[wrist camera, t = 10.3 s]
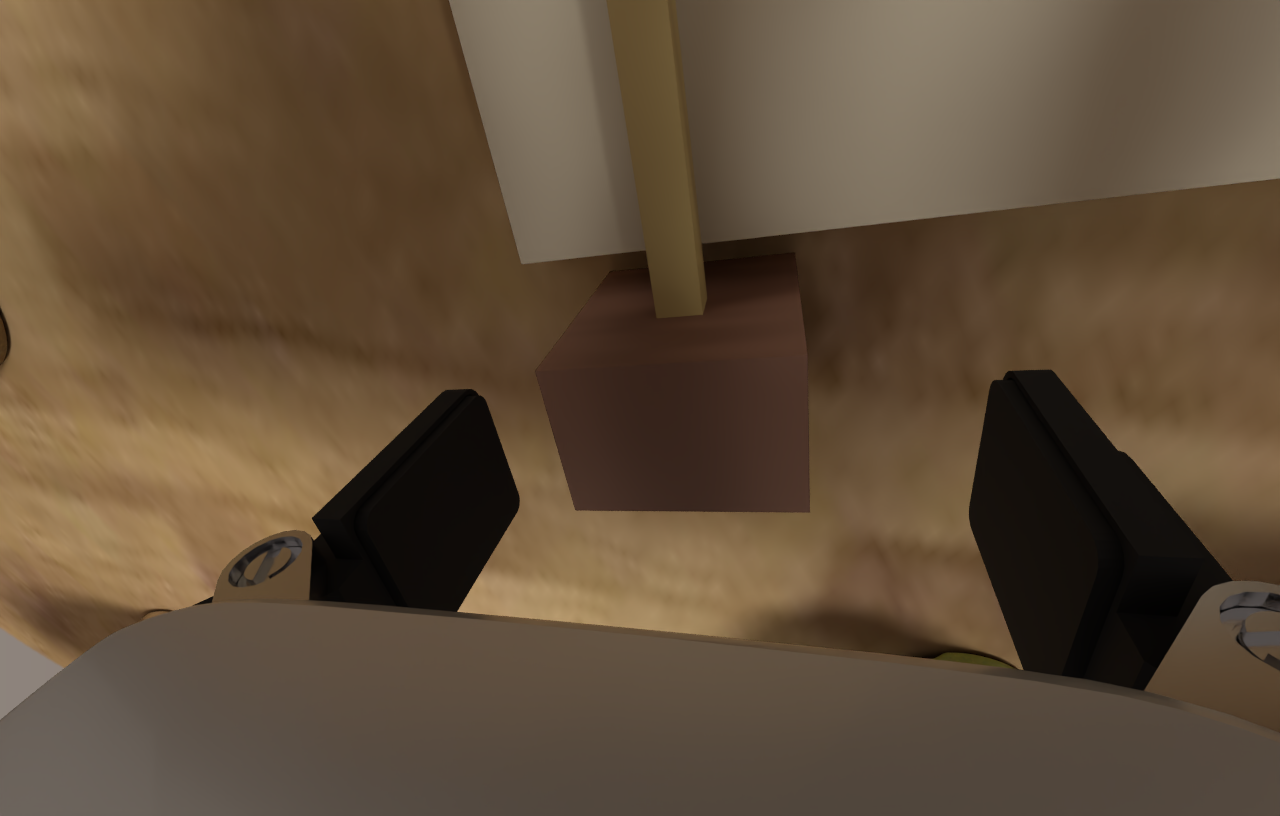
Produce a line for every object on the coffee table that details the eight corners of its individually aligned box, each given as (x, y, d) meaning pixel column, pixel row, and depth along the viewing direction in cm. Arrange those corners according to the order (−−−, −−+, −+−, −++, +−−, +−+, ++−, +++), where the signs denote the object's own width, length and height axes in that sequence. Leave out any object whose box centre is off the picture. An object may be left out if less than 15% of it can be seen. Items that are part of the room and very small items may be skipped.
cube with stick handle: (785, -133, 11) (798, -302, 6) (797, 372, 16) (809, 512, 11) (544, -68, 12) (382, -158, 7) (631, 380, 17) (575, 509, 12)
